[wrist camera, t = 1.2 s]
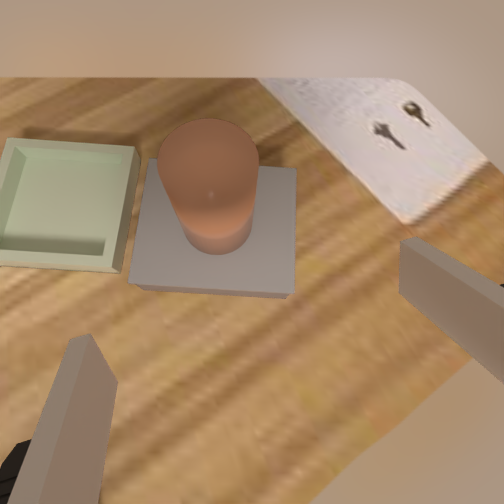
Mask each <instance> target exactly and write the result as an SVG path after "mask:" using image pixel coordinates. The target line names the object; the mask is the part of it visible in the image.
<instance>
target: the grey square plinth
mask: <svg viewBox="0 0 504 504" xmlns="http://www.w3.org/2000/svg"><path fill="white" fill-rule="evenodd" d="M296 169H297V168H284V167H270V166H259V170H258V179H257V188H256V197H255V206H254V214H253V223H252V230H251V233H250V235H249V237H248V239H247V240H246V242H245V243H244V244H243V245H242V246H241V247H240V248H238V249H237V250H235V251H233V252H231V253H228V254H224V255H210V254H206V253H203V252H201V251H199V250H197V249H196V248H195V247H193V246H192V245H191V244H190V242H189V241H188V240H187V238H186V236H185V234H184V232H183V229H182V227H181V225H180V222H179V220H178V218H177V216H176V213H175V211H174V209H173V207H172V204H171V202H170V200H169V197H168V195H167V193H166V191H165V188H164V186H163V184H162V181H161V179H160V177H159V174H158V169H157V158H149V162H148V167H147V173H146V179H145V185H144V191H143V196H142V202H141V208H140V214H139V220H138V225H137V231H136V237H135V243H134V249H133V254H132V260H131V266H130V272H129V278H128V284H136V285H137V286H139V287H140V288H141V289H143V290H151V291H167V292H183V293H199V294H216V295H232V296H248V297H264V298H280V299H286V298H287V296H288V295H289V294H294V290H295V229H296Z"/></svg>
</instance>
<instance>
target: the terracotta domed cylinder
mask: <svg viewBox="0 0 504 504" xmlns="http://www.w3.org/2000/svg"><path fill="white" fill-rule="evenodd" d="M157 169H158V174H159V177H160V179H161V181H162V184H163V186H164V188H165V191H166V193H167V195H168V197H169V200H170V202H171V204H172V207H173V209H174V211H175V213H176V216H177V218H178V220H179V222H180V225H181V227H182V229H183V232H184V234H185V236H186V238H187V240H188V241H189V242H190V244H191V245H192V246H193V247H195V248H196V249H197V250H199V251H201V252H203V253H206V254H210V255H224V254H228V253H231V252H233V251H235V250H237V249H238V248H240V247H241V246H242V245H243V244H244V243H245V242H246V240H247V239H248V237H249V235H250V233H251V230H252V223H253V214H254V206H255V197H256V188H257V179H258V170H259V155H258V151H257V148H256V146H255V144H254V142H253V140H252V139H251V137H250V136H249V135H248V134H247V133H246V132H245V131H244V130H243V129H241V128H240V127H238V126H237V125H235V124H233V123H230V122H228V121H225V120H220V119H214V118H205V119H197V120H193V121H190V122H187V123H185V124H183V125H181V126H179V127H177V128H176V129H175V130H173V131H172V132H171V133H170V134H169V135H168V136H167V137H166V139H165V140H164V142H163V143H162V145H161V147H160V150H159V153H158V157H157Z"/></svg>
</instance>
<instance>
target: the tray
mask: <svg viewBox="0 0 504 504" xmlns="http://www.w3.org/2000/svg"><path fill="white" fill-rule="evenodd" d="M140 164H141V159H140V157H139V155H138V153H137V151H136V149H135V147H134V146H121V145H107V144H93V143H79V142H66V141H52V140H38V139H24V138H10V137H8V138H7V141H6V144H5V147H4V150H3V153H2V156H1V159H0V266H9V267H25V268H40V269H56V270H72V271H88V272H104V273H120V274H121V269H122V263H123V258H124V252H125V247H126V241H127V236H128V230H129V225H130V219H131V214H132V208H133V202H134V197H135V191H136V186H137V180H138V175H139V169H140Z"/></svg>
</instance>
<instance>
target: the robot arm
mask: <svg viewBox="0 0 504 504" xmlns="http://www.w3.org/2000/svg"><path fill="white" fill-rule="evenodd" d="M399 293H400V294H401V295H402V296H403V297H404V298H405V299H406V300H408V301H409V302H410V303H411V304H412V305H413V306H414V307H416V308H417V309H418V310H419V311H420V312H421V313H422V314H424V315H425V316H426V317H427V318H428V319H429V320H431V321H432V322H433V323H434V324H435V325H436V326H437V327H439V328H440V329H441V330H442V331H443V332H444V333H445V334H447V335H448V336H449V337H450V338H451V339H452V340H453V341H455V342H456V343H457V344H458V345H459V346H460V347H462V348H463V349H464V350H465V351H466V352H467V353H468V354H470V355H471V356H472V357H473V358H474V359H475V360H476V361H478V362H479V363H480V364H481V365H482V366H484V367H485V368H486V369H487V370H488V371H489V372H490V373H491V374H493V375H494V376H495V377H496V378H497V379H498V380H500V381H501V382H502V383H503V384H504V284H501V285H498V284H497V283H495V282H493V281H491V280H490V279H488V278H486V277H485V276H483V275H481V274H479V273H478V272H476V271H474V270H473V269H471V268H469V267H468V266H466V265H464V264H462V263H461V262H459V261H457V260H456V259H454V258H452V257H450V256H449V255H447V254H445V253H444V252H442V251H440V250H438V249H437V248H435V247H433V246H432V245H430V244H428V243H426V242H425V241H423V240H421V239H420V238H418V237H413V238H409V239H406V240H403V241H400V265H399ZM117 384H118V381H117V379H116V378H115V376H114V374H113V372H112V371H111V369H110V367H109V365H108V363H107V362H106V360H105V358H104V356H103V355H102V353H101V351H100V349H99V347H98V346H97V344H96V342H95V340H94V339H93V337H92V335H91V333H90V334H86V335H83V336H80V337H76V338H73V339H70V341H69V343H68V346H67V349H66V351H65V354H64V357H63V359H62V362H61V364H60V367H59V370H58V372H57V375H56V377H55V380H54V383H53V385H52V388H51V390H50V393H49V396H48V398H47V401H46V404H45V406H44V409H43V411H42V414H41V417H40V419H39V422H38V424H37V427H36V430H35V432H34V435H33V437H32V439H31V440H28V441H24V442H21V443H18V444H17V445H16V446H15V447H14V449H13V450H12V451H11V453H10V454H9V455H8V457H7V458H6V459H5V461H4V462H3V463H2V465H1V468H0V504H98V501H99V495H100V488H101V482H102V476H103V470H104V464H105V458H106V452H107V446H108V439H109V433H110V427H111V421H112V415H113V409H114V403H115V397H116V390H117Z"/></svg>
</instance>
